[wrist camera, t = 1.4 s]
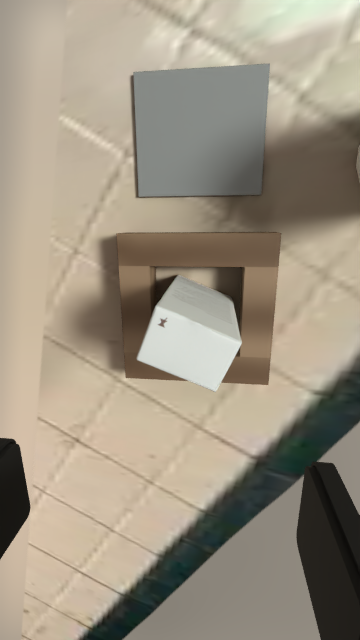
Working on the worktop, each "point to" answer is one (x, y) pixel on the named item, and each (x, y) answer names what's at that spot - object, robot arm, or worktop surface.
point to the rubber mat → (201, 130)
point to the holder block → (201, 251)
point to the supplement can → (358, 163)
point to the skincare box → (192, 334)
